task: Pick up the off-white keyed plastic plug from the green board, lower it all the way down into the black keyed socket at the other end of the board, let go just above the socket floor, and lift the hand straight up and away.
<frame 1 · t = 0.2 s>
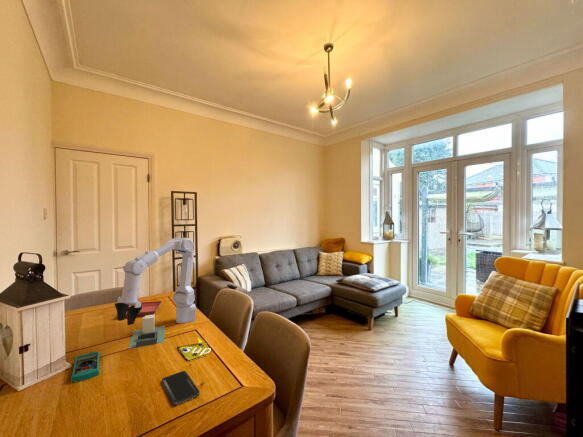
hand: (125, 322, 105), 10 cm above the table, tool pointing down, fingers open, 7 cm apart
phone: (180, 389, 81), on the table
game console: (193, 349, 105), on the table
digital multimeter: (86, 370, 90), on the table
keyed plug: (149, 331, 117), point 1 cm above the table, touching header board
plant saucer: (141, 312, 144), on the table
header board: (148, 338, 113), on the table
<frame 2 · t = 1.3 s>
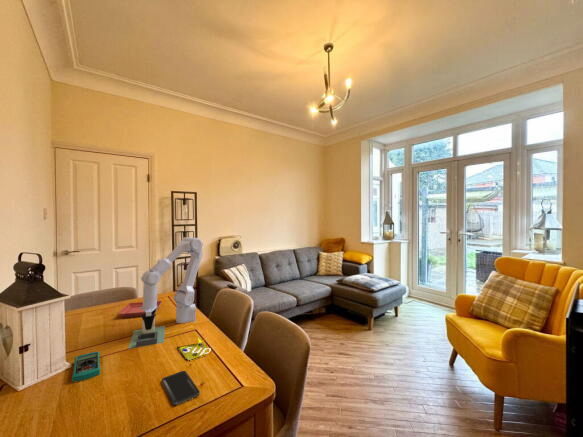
hand: (149, 326, 117), 3 cm above the table, tool pointing down, fingers open, 7 cm apart
nothing on the table moved.
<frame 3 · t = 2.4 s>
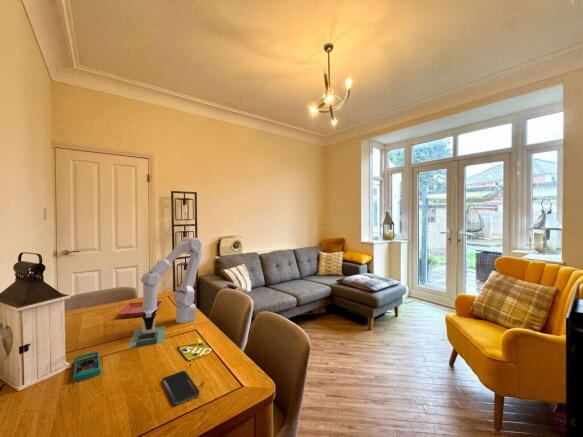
hand: (149, 327, 117), 3 cm above the table, tool pointing down, fingers closed on keyed plug, 4 cm apart
keyed plug: (149, 331, 117), point 1 cm above the table, touching gripper, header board
everything else where it was.
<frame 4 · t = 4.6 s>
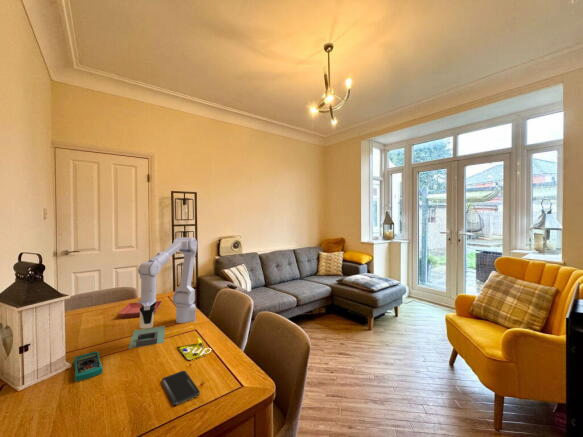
hand: (147, 321, 108), 9 cm above the table, tool pointing down, fingers closed on keyed plug, 4 cm apart
keyed plug: (147, 326, 108), point 8 cm above the table, touching gripper
everything else where it was.
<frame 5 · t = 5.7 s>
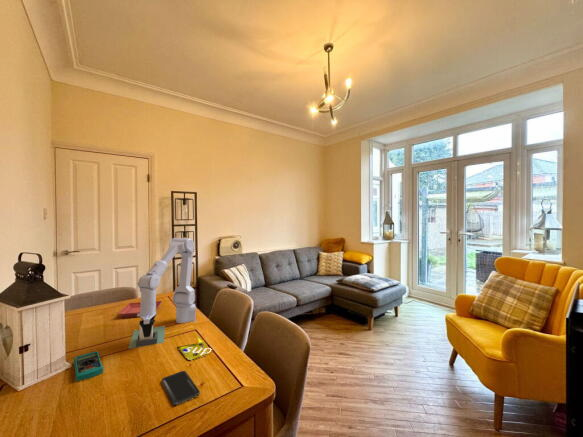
hand: (147, 334, 108), 4 cm above the table, tool pointing down, fingers closed on keyed plug, 4 cm apart
keyed plug: (147, 339, 108), point 2 cm above the table, touching gripper
everything else where it was.
when the fingers open (3 cm above the table, at t = 6.7 s): keyed plug stays where it is, resting on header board.
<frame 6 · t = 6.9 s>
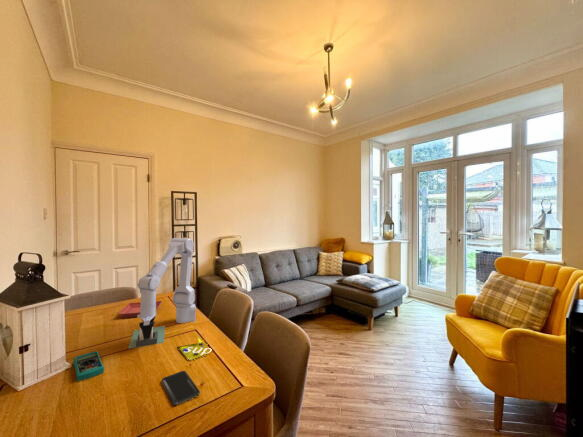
hand: (147, 335, 108), 3 cm above the table, tool pointing down, fingers open, 5 cm apart
keyed plug: (147, 341, 108), point 1 cm above the table, touching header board
everything else where it was.
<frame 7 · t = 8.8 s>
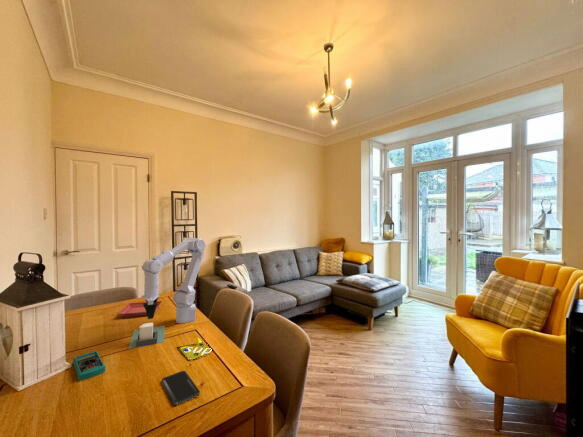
hand: (151, 315, 115), 9 cm above the table, tool pointing down, fingers open, 7 cm apart
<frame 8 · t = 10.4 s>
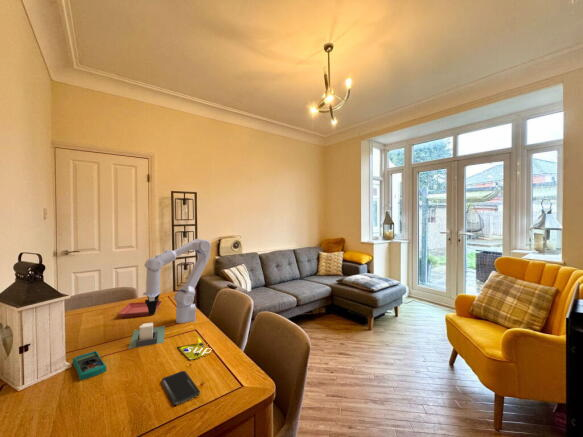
hand: (152, 311, 119), 9 cm above the table, tool pointing down, fingers open, 7 cm apart
at the end: keyed plug 0.1 cm from the target spot on the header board, point 1.0 cm above the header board's base; keyed plug tilted 0°; the gripper is holding nothing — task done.
